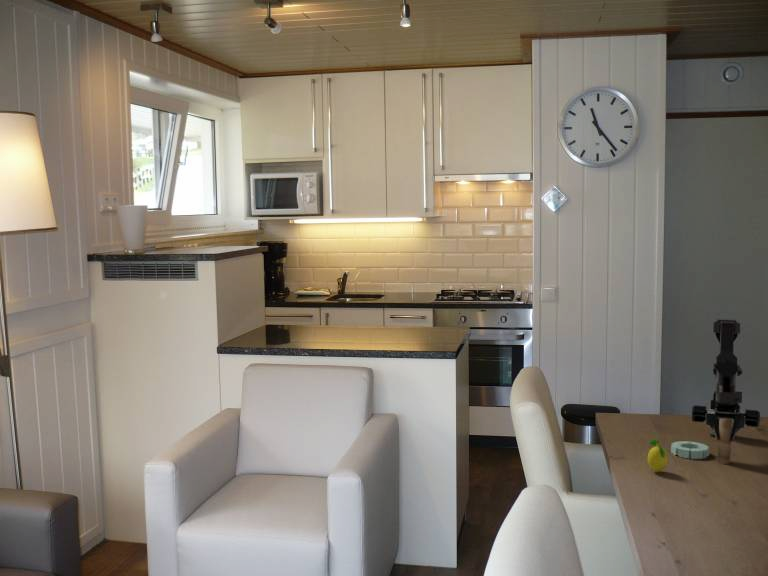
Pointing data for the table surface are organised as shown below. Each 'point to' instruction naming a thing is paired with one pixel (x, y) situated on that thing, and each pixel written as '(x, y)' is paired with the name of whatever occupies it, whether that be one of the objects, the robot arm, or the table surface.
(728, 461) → the dowel
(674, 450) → the ring
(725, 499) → the table surface
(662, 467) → the lemon
